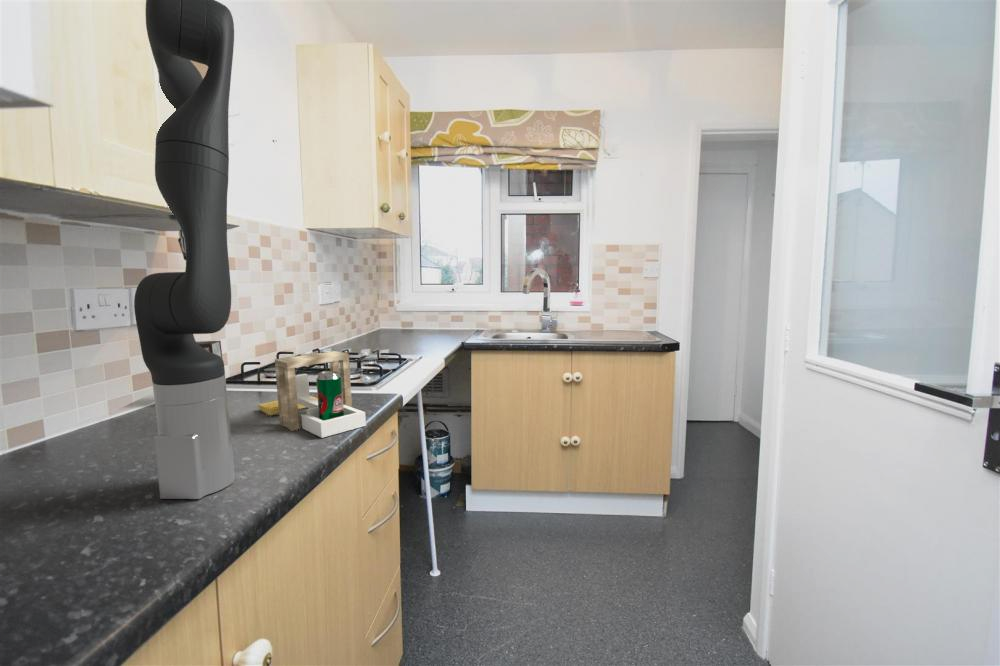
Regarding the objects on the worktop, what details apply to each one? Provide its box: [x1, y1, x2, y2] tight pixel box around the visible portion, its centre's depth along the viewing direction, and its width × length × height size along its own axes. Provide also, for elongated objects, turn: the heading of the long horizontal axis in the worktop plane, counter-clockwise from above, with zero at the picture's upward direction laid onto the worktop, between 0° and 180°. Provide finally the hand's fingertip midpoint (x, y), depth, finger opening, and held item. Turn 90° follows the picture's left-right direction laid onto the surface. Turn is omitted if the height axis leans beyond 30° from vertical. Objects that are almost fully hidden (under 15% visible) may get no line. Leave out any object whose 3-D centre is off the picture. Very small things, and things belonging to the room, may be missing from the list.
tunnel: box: [274, 350, 353, 432], centre depth 104 cm, size 14×6×15 cm, turn 137°
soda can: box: [315, 370, 344, 421], centre depth 99 cm, size 5×5×12 cm
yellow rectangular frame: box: [258, 395, 318, 417], centre depth 115 cm, size 12×7×2 cm, turn 137°
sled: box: [295, 373, 367, 438], centre depth 103 cm, size 10×22×9 cm, turn 47°
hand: (196, 280), depth 100 cm, fingers closed
